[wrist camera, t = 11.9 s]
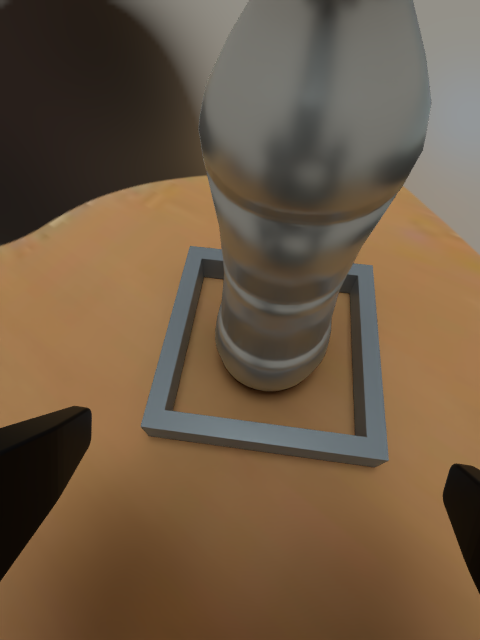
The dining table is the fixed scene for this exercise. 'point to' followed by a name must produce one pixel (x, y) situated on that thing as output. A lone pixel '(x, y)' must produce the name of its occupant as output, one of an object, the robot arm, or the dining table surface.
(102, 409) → the dining table surface
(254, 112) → the plastic bottle
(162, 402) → the frame
